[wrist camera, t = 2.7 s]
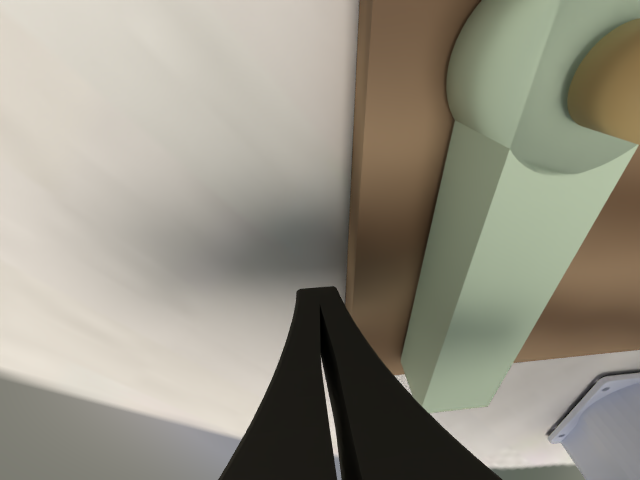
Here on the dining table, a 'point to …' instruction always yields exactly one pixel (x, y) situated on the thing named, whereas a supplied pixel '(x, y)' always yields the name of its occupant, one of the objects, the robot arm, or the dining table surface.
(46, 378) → the dining table surface
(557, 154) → the link
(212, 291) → the dining table surface
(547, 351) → the board
